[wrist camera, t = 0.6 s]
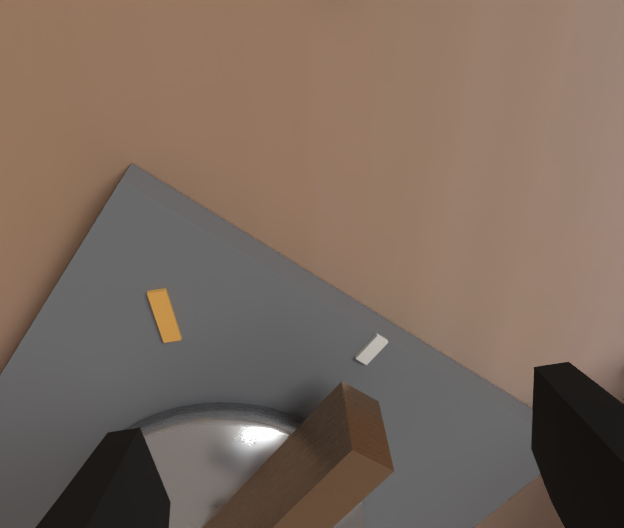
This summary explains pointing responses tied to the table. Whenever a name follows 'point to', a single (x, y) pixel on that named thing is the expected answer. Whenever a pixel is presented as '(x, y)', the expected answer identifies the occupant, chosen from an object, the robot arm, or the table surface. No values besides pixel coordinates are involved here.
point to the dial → (270, 462)
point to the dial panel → (238, 364)
